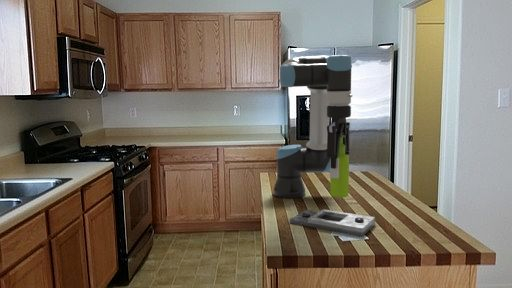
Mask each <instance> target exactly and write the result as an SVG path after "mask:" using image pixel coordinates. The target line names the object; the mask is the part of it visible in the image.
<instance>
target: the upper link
mask: <svg viewBox="0 0 512 288" xmlns="http://www.w3.org/2000/svg"><path fill="white" fill-rule="evenodd" d="M317 212H318V213H316V214H315V215H313V216H312V217H310V218H309V219H308V223H313V224H318V225H324V226H330V227H335V228H341V229H342V232H343V233H342V234H347V233H349V234H348V235H352V234H353V236H358V235H359V237H364V236H365V235H366V234H367V233H368V232H369V231H370V230H371V229H373V227H374V226H375V225H376V217H375V216H368V215H361V214H356V213H350V212H343V211H337V210H331V209H330V210H329V209H325V208H324V209H321V210H319V211H317ZM324 215H328V216H334V217H340V218H344V219H343V220H341V221H337V220H331V219H320V218H321V217H323V216H324ZM363 235H364V236H363Z"/></svg>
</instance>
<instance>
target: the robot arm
mask: <svg viewBox="0 0 512 288" xmlns="http://www.w3.org/2000/svg"><path fill="white" fill-rule="evenodd" d="M352 68H353V65H352V57H351V56H350V55H349V54H348V55H347V54H337V55H311V56H310V55H309V56H295V57H292V58H289V59H287V60H285V61H284V62H283V63H282V64H281V65H280V67H279V83H280V84H279V85H280V86H281V87H283V88H284V87H285V88H293V87H294V88H296V87H297V88H298V87H300V88H301V87H306V88H307V89H308V90H309V91H310V94H309V95H310V98H309V99H310V101H309V102H310V105H309V141H307V142H306V144H305V147H302V145H301V144H289V145H284V146H281V147H279V148H278V149H277V151H276V181H275V185H274V188H273V196H275V197H279V198H283V199H297V198H301V197H304V196H305V195H306V187H305V185H304V184H305V183H304V181H303V178H302V173H329V179H330V178H336V179H338V178H339V158H338V151H339V142H340V138H341V137H342V135H345V137H343V144H344V145H345V155H350V126H351V125H350V124H351V122H349V121H348V122H347V118H351V115H352V106H351V105H350V104H351V103H352V98H353V94H352ZM330 119H331V121H330Z"/></svg>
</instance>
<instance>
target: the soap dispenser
mask: <svg viewBox="0 0 512 288" xmlns="http://www.w3.org/2000/svg"><path fill="white" fill-rule="evenodd" d="M343 137H345V135H342V137H341V138H340V142H339V151H338V158H339V178H338V179H336V178H330V177H329V179H330V180H329V184H330V187H329V191H330V192H329V195H330V196H331V197H332V198H333V197H334V198H347V197H349V186H350V184H349V182H350V181H349V180H350V179H349V178H350V175H349V174H350V155H349V154H346V155H345V145H344V144H343Z"/></svg>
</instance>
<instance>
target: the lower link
mask: <svg viewBox="0 0 512 288" xmlns="http://www.w3.org/2000/svg"><path fill="white" fill-rule="evenodd" d="M318 212H319V211H315V210H308V209H305V210H304V211H302V212H300V213H299V214H297V215H295V216H293V217H292V218H289V223H290V224H294V225H298V226H304V227H310V228H315V229H320V230H326V231H332V232H336V231H337V233H341V232H342V229H341V228H335V227H330V226H324V225H318V224H313V223H308V219H309V218H310V217H312V216H313V215H315V214H316V213H318ZM320 219H324V220H330V221H336V222H340V221H341V220H343V219H344V218H340V217H334V216H328V215H324V216H323V217H321V218H320Z"/></svg>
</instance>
